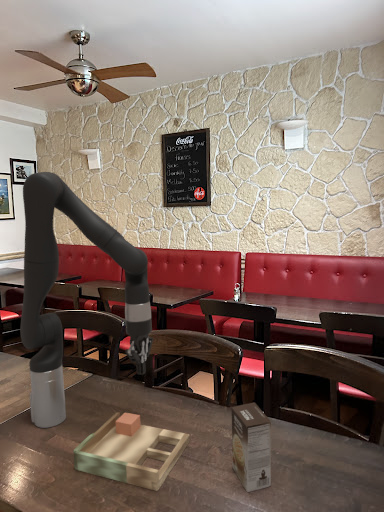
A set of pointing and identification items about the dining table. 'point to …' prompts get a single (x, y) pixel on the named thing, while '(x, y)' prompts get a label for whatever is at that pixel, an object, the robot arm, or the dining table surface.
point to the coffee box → (251, 446)
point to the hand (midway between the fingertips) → (141, 373)
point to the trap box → (129, 454)
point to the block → (128, 424)
